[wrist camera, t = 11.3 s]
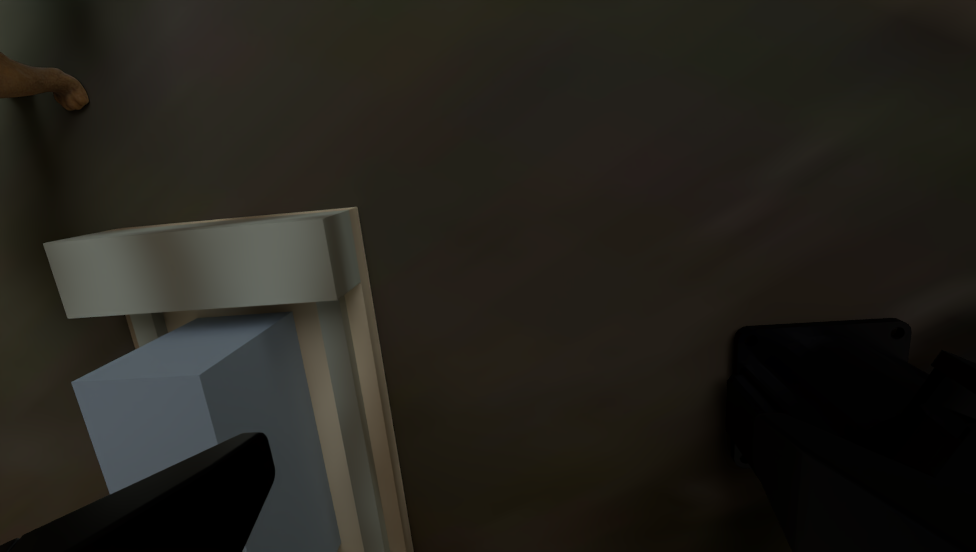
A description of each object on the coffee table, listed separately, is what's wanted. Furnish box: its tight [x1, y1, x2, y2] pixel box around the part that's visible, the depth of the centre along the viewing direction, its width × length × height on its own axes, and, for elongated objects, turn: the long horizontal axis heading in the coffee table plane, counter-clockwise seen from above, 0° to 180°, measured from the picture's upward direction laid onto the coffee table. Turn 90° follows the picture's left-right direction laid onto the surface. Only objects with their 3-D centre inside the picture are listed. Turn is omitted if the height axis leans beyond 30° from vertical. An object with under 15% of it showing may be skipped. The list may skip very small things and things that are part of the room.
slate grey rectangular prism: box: [71, 311, 341, 552], centre depth 20 cm, size 4×14×6 cm, turn 6°
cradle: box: [43, 207, 414, 552], centre depth 22 cm, size 11×23×4 cm, turn 5°
